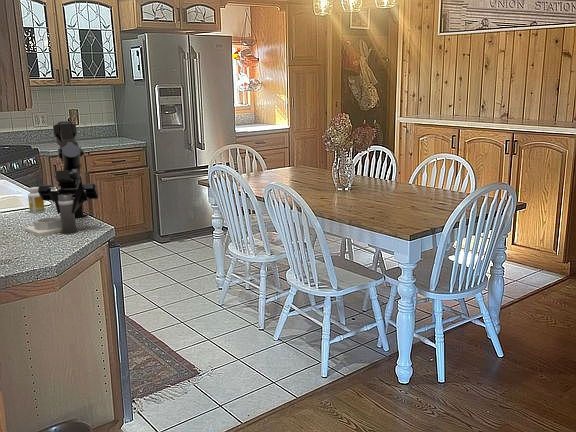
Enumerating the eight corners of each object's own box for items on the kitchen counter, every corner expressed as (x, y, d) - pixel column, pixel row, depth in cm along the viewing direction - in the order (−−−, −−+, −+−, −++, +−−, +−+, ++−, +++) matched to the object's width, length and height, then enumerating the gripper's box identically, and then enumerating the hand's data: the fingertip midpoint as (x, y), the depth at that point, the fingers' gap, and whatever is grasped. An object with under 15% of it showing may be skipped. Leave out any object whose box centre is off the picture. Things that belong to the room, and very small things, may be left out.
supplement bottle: (46, 210, 235) (44, 186, 233) (41, 213, 230) (38, 188, 228) (33, 210, 235) (30, 186, 233) (27, 213, 230) (24, 189, 228)
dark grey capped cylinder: (59, 232, 199) (55, 194, 196) (72, 229, 202) (68, 192, 199) (65, 234, 196) (61, 196, 193) (79, 232, 199) (75, 194, 196)
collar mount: (24, 230, 203) (23, 220, 202) (58, 224, 211) (57, 214, 211) (39, 236, 195) (37, 225, 194) (73, 229, 203) (72, 219, 202)
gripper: (36, 161, 197) (29, 200, 188) (93, 159, 198) (88, 198, 190) (46, 181, 206) (39, 218, 198) (100, 179, 208) (96, 216, 199)
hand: (65, 212), depth 196 cm, fingers closed on dark grey capped cylinder, 4 cm apart
